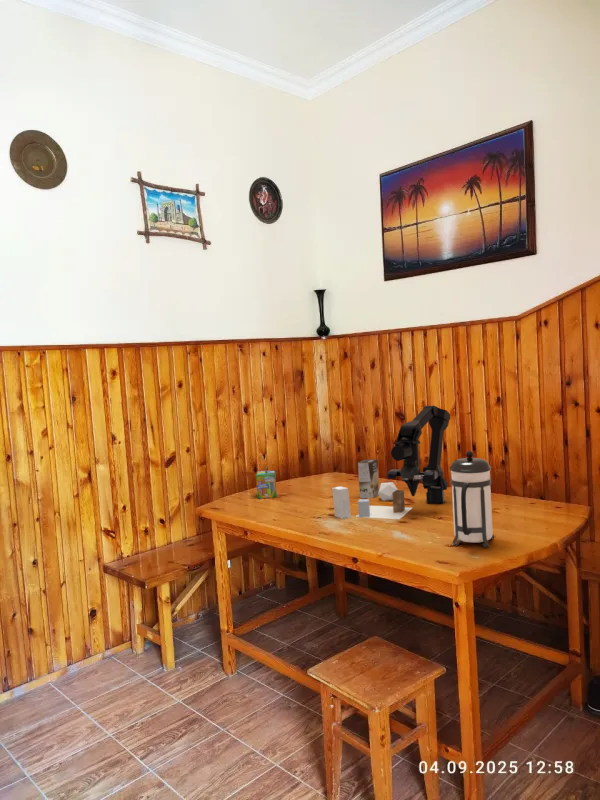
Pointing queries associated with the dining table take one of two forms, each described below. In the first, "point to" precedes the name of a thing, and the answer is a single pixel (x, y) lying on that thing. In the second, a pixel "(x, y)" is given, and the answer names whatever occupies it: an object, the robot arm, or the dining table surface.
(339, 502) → the skincare box
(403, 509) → the walnut block
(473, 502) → the coffee press
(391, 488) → the die
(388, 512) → the mat
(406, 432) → the robot arm
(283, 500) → the dining table surface
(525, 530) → the dining table surface
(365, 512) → the blue-grey block
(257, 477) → the chalk box
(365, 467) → the coffee box
